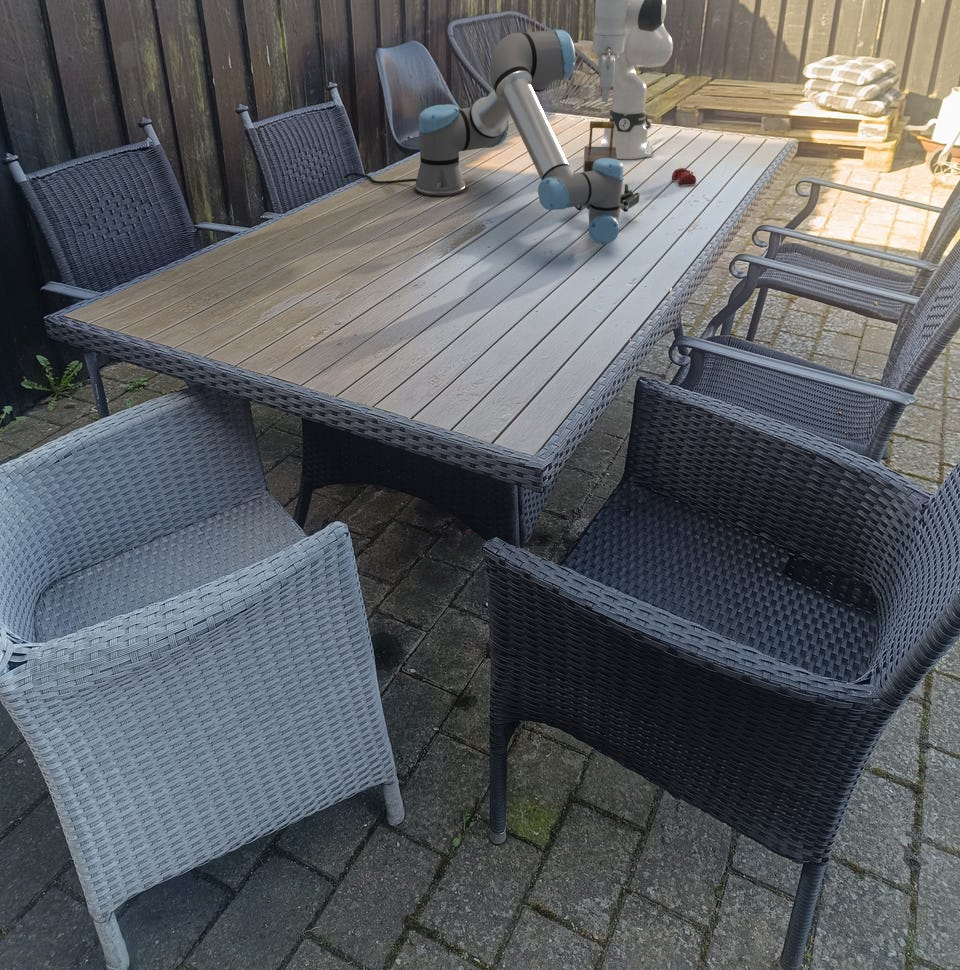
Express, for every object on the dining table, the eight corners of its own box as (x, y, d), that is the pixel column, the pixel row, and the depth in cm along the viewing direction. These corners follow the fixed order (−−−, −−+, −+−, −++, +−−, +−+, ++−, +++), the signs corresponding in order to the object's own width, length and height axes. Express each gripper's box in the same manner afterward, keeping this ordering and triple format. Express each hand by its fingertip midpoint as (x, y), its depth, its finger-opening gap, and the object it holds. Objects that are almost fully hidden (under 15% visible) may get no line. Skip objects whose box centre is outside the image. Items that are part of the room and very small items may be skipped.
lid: (584, 150, 257) (586, 119, 251) (615, 151, 256) (618, 120, 251) (584, 165, 243) (586, 133, 238) (617, 166, 242) (620, 133, 237)
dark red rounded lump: (687, 164, 265) (698, 171, 259) (685, 177, 268) (697, 185, 262) (670, 166, 264) (681, 173, 258) (669, 179, 267) (680, 187, 261)
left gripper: (554, 224, 225) (557, 200, 242) (649, 228, 223) (644, 203, 240) (556, 196, 221) (558, 173, 238) (652, 199, 219) (647, 176, 236)
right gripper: (621, 51, 229) (616, 105, 237) (618, 39, 245) (614, 91, 253) (597, 50, 229) (593, 105, 237) (596, 39, 246) (593, 90, 254)
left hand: (601, 188), depth 239 cm, fingers open, 13 cm apart
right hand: (604, 98), depth 245 cm, fingers open, 8 cm apart
